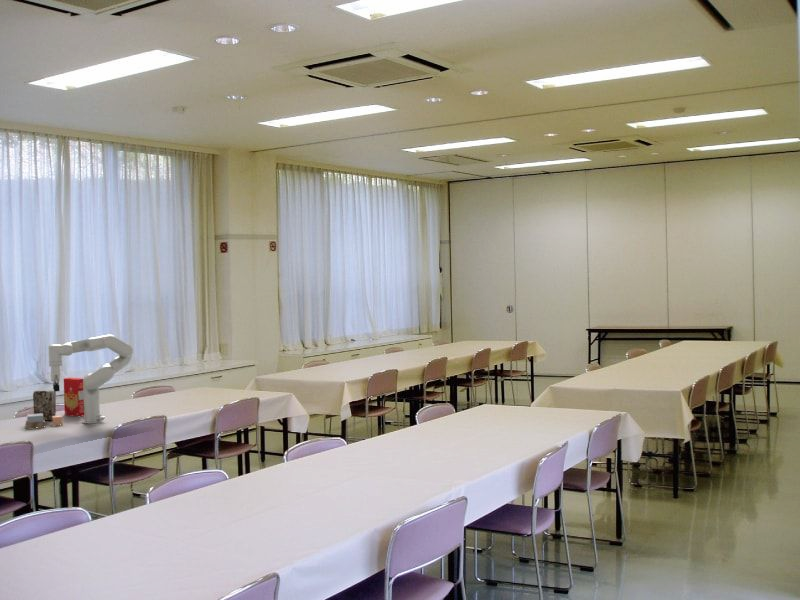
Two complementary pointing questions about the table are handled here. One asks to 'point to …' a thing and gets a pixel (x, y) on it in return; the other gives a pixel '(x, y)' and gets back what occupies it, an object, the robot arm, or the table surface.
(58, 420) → the terracotta cube
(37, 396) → the stone block
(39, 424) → the tower base slab
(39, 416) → the tower top slab
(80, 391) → the food packaging
